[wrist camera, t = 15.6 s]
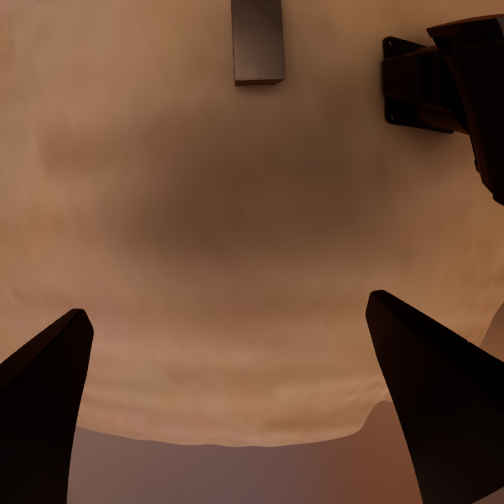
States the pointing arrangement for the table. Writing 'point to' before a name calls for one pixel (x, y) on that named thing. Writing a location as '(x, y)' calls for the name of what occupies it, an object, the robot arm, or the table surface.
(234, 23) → the turner
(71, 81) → the table surface
